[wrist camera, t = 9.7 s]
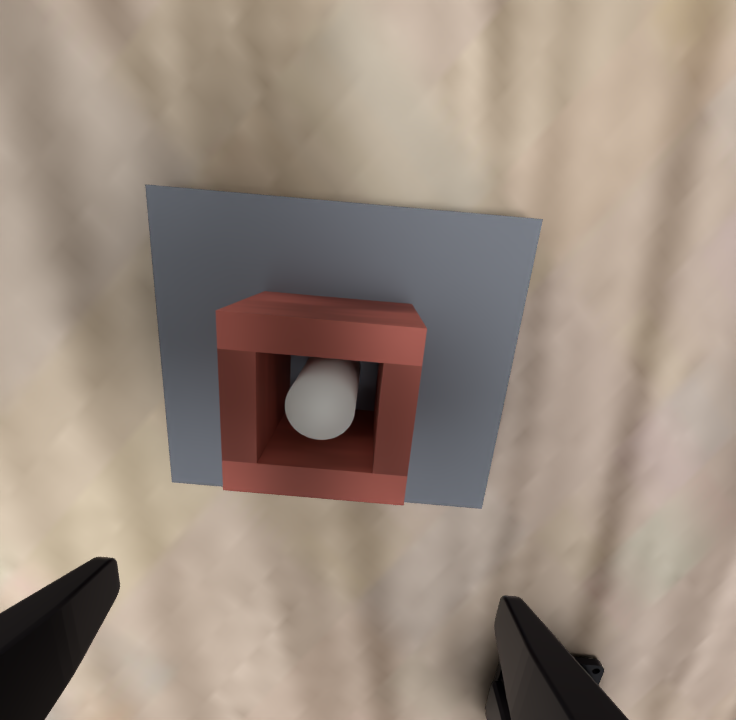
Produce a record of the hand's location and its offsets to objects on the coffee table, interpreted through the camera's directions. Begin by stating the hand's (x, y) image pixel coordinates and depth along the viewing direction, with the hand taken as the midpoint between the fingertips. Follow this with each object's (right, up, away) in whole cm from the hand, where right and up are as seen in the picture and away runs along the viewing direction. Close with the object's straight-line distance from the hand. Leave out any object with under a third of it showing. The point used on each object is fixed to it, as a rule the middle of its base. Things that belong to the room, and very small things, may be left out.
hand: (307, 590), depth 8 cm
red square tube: (0, +5, +8) cm, 10 cm away
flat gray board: (0, +5, +10) cm, 11 cm away
